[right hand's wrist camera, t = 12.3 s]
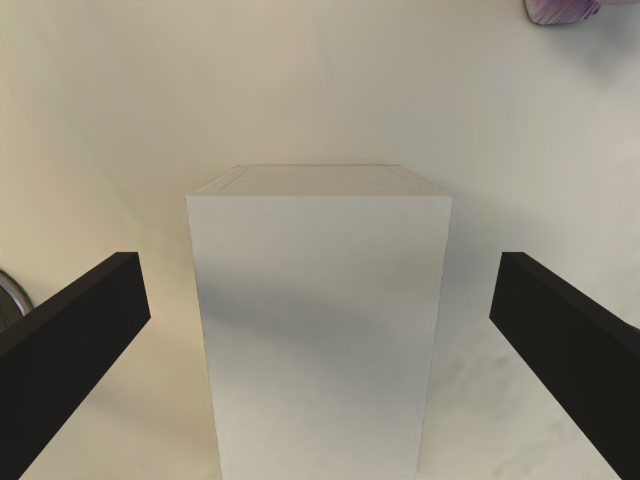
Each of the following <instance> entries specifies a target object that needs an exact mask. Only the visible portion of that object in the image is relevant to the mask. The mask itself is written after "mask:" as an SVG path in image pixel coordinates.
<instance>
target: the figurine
mask: <svg viewBox="0 0 640 480" xmlns="http://www.w3.org/2000/svg"><path fill="white" fill-rule="evenodd" d="M525 1H526V8H527V11H528V14H529V16H530V18H531V20H532V21H533V22H538V23H539V24H544V25H545V24H550V23H553V24H555V23H556V22H557V23H558V24H560V23H563V24H564V23H566V22H567V23H570V22H571V23H574V22H579V21H581V20H583V19H587V18H588V17H589V16H590V15H593V14H596V13H597V12H598V11H599V10H600V9H601V8H602V7H603V6H604V5H605V4H606V5H626V4H634V3H639V2H640V0H525Z"/></svg>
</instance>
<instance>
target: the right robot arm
mask: <svg viewBox="0 0 640 480" xmlns="http://www.w3.org/2000/svg"><path fill="white" fill-rule="evenodd" d="M150 318H151V316H150V311H149V306H148V301H147V296H146V291H145V286H144V281H143V276H142V271H141V266H140V261H139V256H138V252H116V253H114V254H113V255H111V256H110V257H109V258H107V259H106V260H104V261H103V262H101V263H100V264H98V265H97V266H96V267H94V268H93V269H91V270H90V271H88V272H87V273H85V274H84V275H83V276H81V277H80V278H78V279H77V280H75V281H74V282H72V283H71V284H70V285H68V286H67V287H65V288H64V289H62V290H61V291H59V292H58V293H57V294H55V295H54V296H52V297H51V298H49V299H48V300H46V301H45V302H43V303H42V304H41V305H39V306H38V307H36V308H35V309H33V310H32V311H30V312H29V313H28V314H26V315H25V316H23V317H22V318H20V319H19V320H17V321H16V322H15V323H13V324H12V325H10V326H9V327H7V328H5V329H3V330H1V331H0V480H18V479H19V478H20V477H21V476H22V475H23V473H24V472H25V471H26V470H27V468H28V467H29V466H30V465H31V464H32V462H33V461H34V460H35V459H36V457H37V456H38V455H39V454H40V453H41V451H42V450H43V449H44V448H45V446H46V445H47V444H48V443H49V442H50V440H51V439H52V438H53V437H54V435H55V434H56V433H57V432H58V431H59V429H60V428H61V427H62V426H63V424H64V423H65V422H66V421H67V420H68V418H69V417H70V416H71V415H72V413H73V412H74V411H75V410H76V409H77V407H78V406H79V405H80V404H81V402H82V401H83V400H84V399H85V398H86V396H87V395H88V394H89V393H90V391H91V390H92V389H93V388H94V387H95V385H96V384H97V383H98V382H99V380H100V379H101V378H102V377H103V376H104V374H105V373H106V372H107V371H108V369H109V368H110V367H111V366H112V365H113V363H114V362H115V361H116V360H117V358H118V357H119V356H120V355H121V354H122V352H123V351H124V350H125V349H126V348H127V346H128V345H129V344H130V343H131V341H132V340H133V339H134V338H135V337H136V335H137V334H138V333H139V332H140V330H141V329H142V328H143V327H144V326H145V324H146V323H147V322H148V321H149V319H150ZM489 318H490V319H491V321H492V322H493V323H494V324H495V326H496V327H497V328H498V329H499V330H500V332H501V333H502V334H503V335H504V337H505V338H506V339H507V340H508V341H509V343H510V344H511V345H512V346H513V348H514V349H515V350H516V351H517V352H518V354H519V355H520V356H521V357H522V358H523V360H524V361H525V362H526V363H527V365H528V366H529V367H530V368H531V369H532V371H533V372H534V373H535V374H536V376H537V377H538V378H539V379H540V380H541V382H542V383H543V384H544V385H545V387H546V388H547V389H548V390H549V391H550V393H551V394H552V395H553V396H554V398H555V399H556V400H557V401H558V402H559V404H560V405H561V406H562V407H563V409H564V410H565V411H566V412H567V413H568V415H569V416H570V417H571V418H572V420H573V421H574V422H575V423H576V424H577V426H578V427H579V428H580V429H581V431H582V432H583V433H584V434H585V435H586V437H587V438H588V439H589V440H590V442H591V443H592V444H593V445H594V446H595V448H596V449H597V450H598V451H599V453H600V454H601V455H602V456H603V457H604V459H605V460H606V461H607V462H608V464H609V465H610V466H611V467H612V468H613V470H614V471H615V472H616V473H617V475H618V476H619V477H620V478H621V479H622V480H640V329H638V328H636V327H634V326H631V325H629V324H627V323H625V322H624V321H623V320H621V319H620V318H618V317H617V316H615V315H614V314H612V313H611V312H610V311H608V310H607V309H605V308H604V307H602V306H601V305H599V304H598V303H597V302H595V301H594V300H592V299H591V298H589V297H588V296H586V295H585V294H583V293H582V292H581V291H579V290H578V289H576V288H575V287H573V286H572V285H570V284H569V283H568V282H566V281H565V280H563V279H562V278H560V277H559V276H557V275H556V274H555V273H553V272H552V271H550V270H549V269H547V268H546V267H544V266H543V265H542V264H540V263H539V262H537V261H536V260H534V259H533V258H531V257H530V256H529V255H527V254H526V253H524V252H502V256H501V261H500V266H499V271H498V276H497V281H496V286H495V291H494V296H493V301H492V306H491V311H490V316H489Z"/></svg>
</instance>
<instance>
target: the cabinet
mask: <svg viewBox="0 0 640 480" xmlns="http://www.w3.org/2000/svg"><path fill="white" fill-rule="evenodd" d="M185 200H186V208H187V215H188V223H189V230H190V238H191V246H192V253H193V261H194V268H195V276H196V284H197V291H198V299H199V306H200V314H201V322H202V329H203V337H204V344H205V352H206V360H207V367H208V375H209V382H210V390H211V398H212V405H213V413H214V420H215V428H216V436H217V443H218V451H219V458H220V466H221V474H222V480H416V475H417V467H418V459H419V452H420V444H421V437H422V429H423V421H424V414H425V406H426V399H427V391H428V384H429V376H430V368H431V361H432V353H433V346H434V338H435V331H436V323H437V315H438V308H439V300H440V293H441V285H442V278H443V270H444V262H445V255H446V247H447V240H448V232H449V225H450V217H451V209H452V202H453V196H451V195H450V194H448V193H446V192H445V191H442V190H440V189H439V188H437V187H435V186H434V185H432V184H430V183H428V182H427V181H425V180H423V179H422V178H420V177H418V176H417V175H415V174H413V173H411V172H410V171H408V170H406V169H405V168H403V167H402V166H400V165H238V166H237V167H235V168H234V169H232V170H230V171H228V172H227V173H225V174H223V175H222V176H220V177H218V178H216V179H215V180H213V181H211V182H210V183H208V184H206V185H204V186H203V187H201V188H199V189H197V190H196V191H193V192H192V193H190V194H188V195H186V196H185Z"/></svg>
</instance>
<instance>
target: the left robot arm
mask: <svg viewBox="0 0 640 480" xmlns="http://www.w3.org/2000/svg"><path fill="white" fill-rule="evenodd" d="M30 311H32V309H31V306H30V304H29V303H28V301H27V299H26V298H25V296H24V295H23V293H22V292H21V291H20V290H19V288H18V287H17V286H16V285H15V284H14V283H13V282H12V281H11V280H9V279H8V278H7V277H6V276H5V275H3V274H2V273H1V272H0V331H1V330H3V329H5V328H7V327H9V326H10V325H12V324H13V323H15V322H16V321H17V320H19V319H20V318H22V317H23V316H25V315H26V314H28V313H29V312H30Z"/></svg>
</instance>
